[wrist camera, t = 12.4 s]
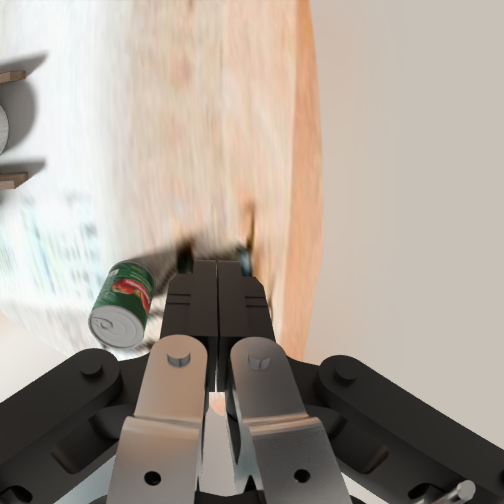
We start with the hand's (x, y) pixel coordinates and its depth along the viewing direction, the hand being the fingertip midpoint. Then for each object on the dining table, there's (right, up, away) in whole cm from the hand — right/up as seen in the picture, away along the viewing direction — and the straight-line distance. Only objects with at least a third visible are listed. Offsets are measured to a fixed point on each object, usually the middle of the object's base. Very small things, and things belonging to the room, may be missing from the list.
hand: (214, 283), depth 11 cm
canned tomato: (-18, -4, +37) cm, 41 cm away
